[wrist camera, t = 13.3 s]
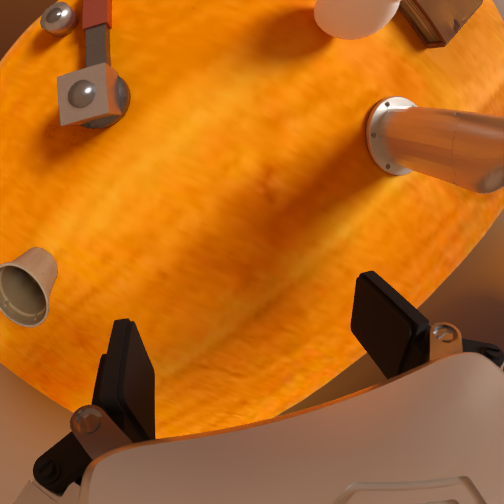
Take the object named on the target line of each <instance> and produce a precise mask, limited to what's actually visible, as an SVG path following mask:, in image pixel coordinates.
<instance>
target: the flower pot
mask: <svg viewBox="0 0 504 504" xmlns="http://www.w3.org/2000/svg"><path fill="white" fill-rule="evenodd" d="M57 272H58V270H57V264H56V262H55V260H54V258H53V256H52V255H51V254H50V253H48V252H46V251H45V250H43V249H42V248H38V247H35V248H31V249H29V250H28V251H27V252H25V253H24V254H22V255H21V256H19V257H18V258H17V259H15V260H14V261H12V262H9V263H3V264H1V265H0V310H1V311H2V313H3V314H4V315H5V316H6V317H7V318H9V319H10V320H11V321H13V322H14V323H16V324H18V325H21V326H24V327H36V326H38V325H40V324H42V323H43V322H44V321H45V319H46V318H47V315H48V312H49V296H50V293H51V290H52V288H53V285H54V282H55V280H56V277H57Z"/></svg>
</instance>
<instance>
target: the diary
mask: <svg viewBox="0 0 504 504" xmlns="http://www.w3.org/2000/svg"><path fill="white" fill-rule="evenodd" d="M482 2H483V0H401V1H400V3H399V7H398V9H399V10H400V12H401V13H402V14H403V15H404V17H405V18H406V19H407V21H408V22H409V23H410V24H411V26H412V27H413V28H414V30H415V31H416V33H417V34H418V35H419V37H420V38H421V40H422V41H423V43H424V44H425V45H426V47H428V48H437V47H445V46H446V45H447V43H448V42H449V41H450V40H451V39H452V38H453V37H454V35H455V34H456V33H457V32H458V31H459V30H460V29H461V27H462V26H463V25H464V24H465V23H466V22H467V20H468V19H469V18H470V17H471V16H472V15H473V14H474V12H475V11H476V10H477V9H478V8H479V7H480V5H481V4H482Z"/></svg>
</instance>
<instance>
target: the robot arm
mask: <svg viewBox="0 0 504 504" xmlns="http://www.w3.org/2000/svg"><path fill="white" fill-rule="evenodd" d="M366 140H367V146H368V149H369V152H370V154H371V157H372V159H373V160H374V161H375V163H376V164H377V165H378V166H379V167H380V168H381V169H382V170H384V171H385V172H388V173H390V174H394V175H405V174H408V173H410V172H412V171H417V172H420V173H423V174H426V175H429V176H432V177H435V178H438V179H440V180H443V181H446V182H449V183H452V184H454V185H457V186H460V187H462V188H465V189H468V190H471V191H473V192H476V193H482V194H486V193H491V192H494V191H496V190H498V189H500V188H502V187H503V186H504V116H496V115H489V114H482V113H475V112H467V111H458V110H449V109H438V108H425V107H417V106H416V105H415V104H414V103H413V102H412V101H410V100H408V99H406V98H403V97H398V96H393V97H387V98H384V99H382V100H381V101H380V102H378V103H377V104H376V105H375V106H374V108H373V109H372V111H371V113H370V115H369V118H368V121H367V127H366ZM428 324H429V320H428V319H426V318H425V317H424V316H423V315H422V314H421V313H420V312H419V311H418V310H417V309H416V308H415V307H414V306H412V305H411V304H410V303H409V302H408V301H407V300H406V299H405V298H404V297H403V296H401V295H400V294H399V293H398V292H397V291H396V290H395V289H394V288H393V287H391V286H390V285H389V284H388V283H387V282H386V281H385V280H383V279H382V278H381V277H380V276H379V275H378V274H377V273H375V272H374V271H368V272H364V273H361V274H360V275H359V277H358V278H357V279H356V287H355V295H354V303H353V311H352V318H351V331H352V333H353V334H354V335H355V337H356V338H357V339H358V341H359V342H360V343H361V345H362V346H363V347H364V349H365V350H366V351H367V353H368V354H369V355H370V356H371V358H372V359H373V360H374V362H375V363H376V364H377V366H378V367H379V368H380V369H381V371H382V372H383V374H384V375H385V376H386V378H387V379H388V380H386V381H383V382H381V383H378V384H376V385H373V386H371V387H368V388H366V389H363V390H360V391H358V392H355V393H352V394H350V395H347V396H344V397H341V398H338V399H335V400H333V401H330V402H327V403H323V404H320V405H317V406H314V407H311V408H308V409H304V410H301V411H297V412H294V413H290V414H287V415H283V416H279V417H275V418H271V419H267V420H263V421H259V422H254V423H250V424H245V425H241V426H236V427H231V428H226V429H220V430H214V431H208V432H203V433H197V434H190V435H183V436H176V437H168V438H161V439H155V374H154V369H153V366H152V364H151V362H150V359H149V357H148V355H147V352H146V350H145V347H144V345H143V342H142V340H141V337H140V335H139V332H138V329H137V327H136V324H135V322H134V321H132V322H130V320H129V319H128V318H127V319H120V320H115V321H114V324H113V329H112V333H111V337H110V342H109V346H108V351H107V354H103V355H102V356H101V359H100V364H99V368H98V373H97V378H96V383H95V388H94V393H93V399H92V405H86V406H82V407H80V408H79V409H77V410H76V411H75V412H74V413H73V415H72V417H71V420H70V428H71V430H72V432H70V433H69V434H68V435H67V436H65V437H64V438H63V439H62V440H61V441H59V442H58V443H57V444H55V445H54V446H53V447H52V448H50V449H49V450H48V451H47V452H45V453H44V454H43V455H42V456H40V457H39V458H38V459H37V460H36V462H35V464H34V467H33V475H34V480H33V481H32V482H31V481H28V483H27V484H26V485H25V487H24V489H23V490H22V491H21V493H20V494H19V496H18V498H17V499H16V501H15V502H14V504H504V353H503V352H502V350H500V348H499V347H497V346H495V345H493V344H489V343H483V342H478V341H472V340H467V339H462V338H461V333H460V331H459V330H458V329H457V328H456V327H455V326H454V325H452V324H450V323H445V322H439V323H436V324H434V325H433V326H432V327H430V326H429V325H428Z"/></svg>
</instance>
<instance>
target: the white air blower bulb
mask: <svg viewBox="0 0 504 504" xmlns="http://www.w3.org/2000/svg"><path fill="white" fill-rule="evenodd" d="M400 1H401V0H317V2H316V4H315V7H314V19H315V21H316V23H317V25H318V26H319V27H320V28H321V29H322V30H323V31H324V32H326V33H327V34H329V35H331V36H333V37H336V38H339V39H345V40H353V39H360V38H364V37H366V36H369V35H371V34H373V33H375V32H377V31H378V30H380V29H381V28H383V27H384V26H385V25H386V24H387V23H388V22H389V21H390V20H391V19H392V17H393V16H394V15H395V13H396V11H397V9H398V7H399V3H400Z"/></svg>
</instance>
